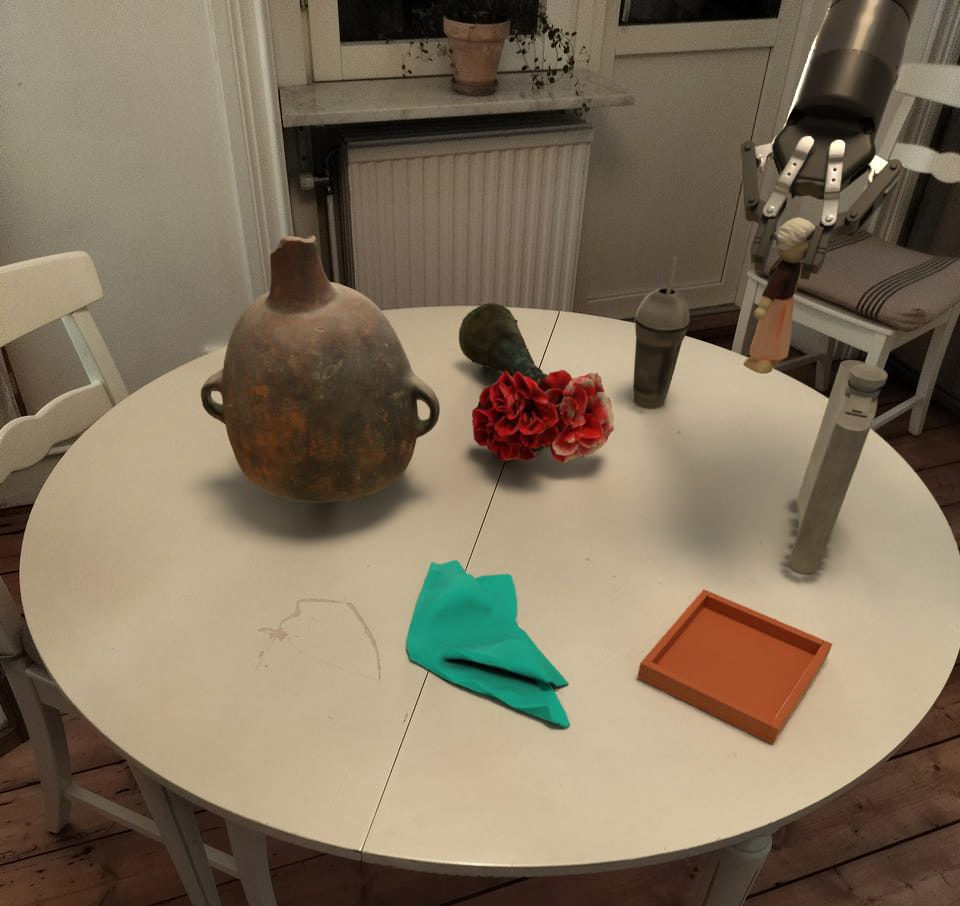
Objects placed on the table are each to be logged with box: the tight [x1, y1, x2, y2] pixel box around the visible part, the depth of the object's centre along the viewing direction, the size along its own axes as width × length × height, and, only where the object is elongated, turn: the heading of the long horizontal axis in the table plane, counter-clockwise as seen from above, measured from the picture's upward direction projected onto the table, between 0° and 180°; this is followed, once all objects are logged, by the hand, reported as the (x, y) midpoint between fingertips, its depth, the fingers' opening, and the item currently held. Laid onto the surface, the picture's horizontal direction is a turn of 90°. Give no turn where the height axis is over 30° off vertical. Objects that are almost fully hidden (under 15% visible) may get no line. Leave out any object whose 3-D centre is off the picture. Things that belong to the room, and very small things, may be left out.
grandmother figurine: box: [743, 217, 816, 375], centre depth 77 cm, size 8×4×13 cm, turn 155°
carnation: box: [458, 302, 615, 464], centre depth 113 cm, size 16×18×35 cm
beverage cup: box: [632, 257, 691, 409], centre depth 115 cm, size 7×7×20 cm
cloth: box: [405, 559, 571, 728], centre depth 84 cm, size 26×14×2 cm, turn 16°
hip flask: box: [787, 359, 889, 575], centre depth 92 cm, size 16×4×20 cm, turn 161°
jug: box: [200, 235, 441, 504], centre depth 94 cm, size 24×21×30 cm
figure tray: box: [637, 588, 833, 745], centre depth 82 cm, size 14×14×2 cm
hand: (782, 270), depth 74 cm, fingers closed on grandmother figurine, 3 cm apart
